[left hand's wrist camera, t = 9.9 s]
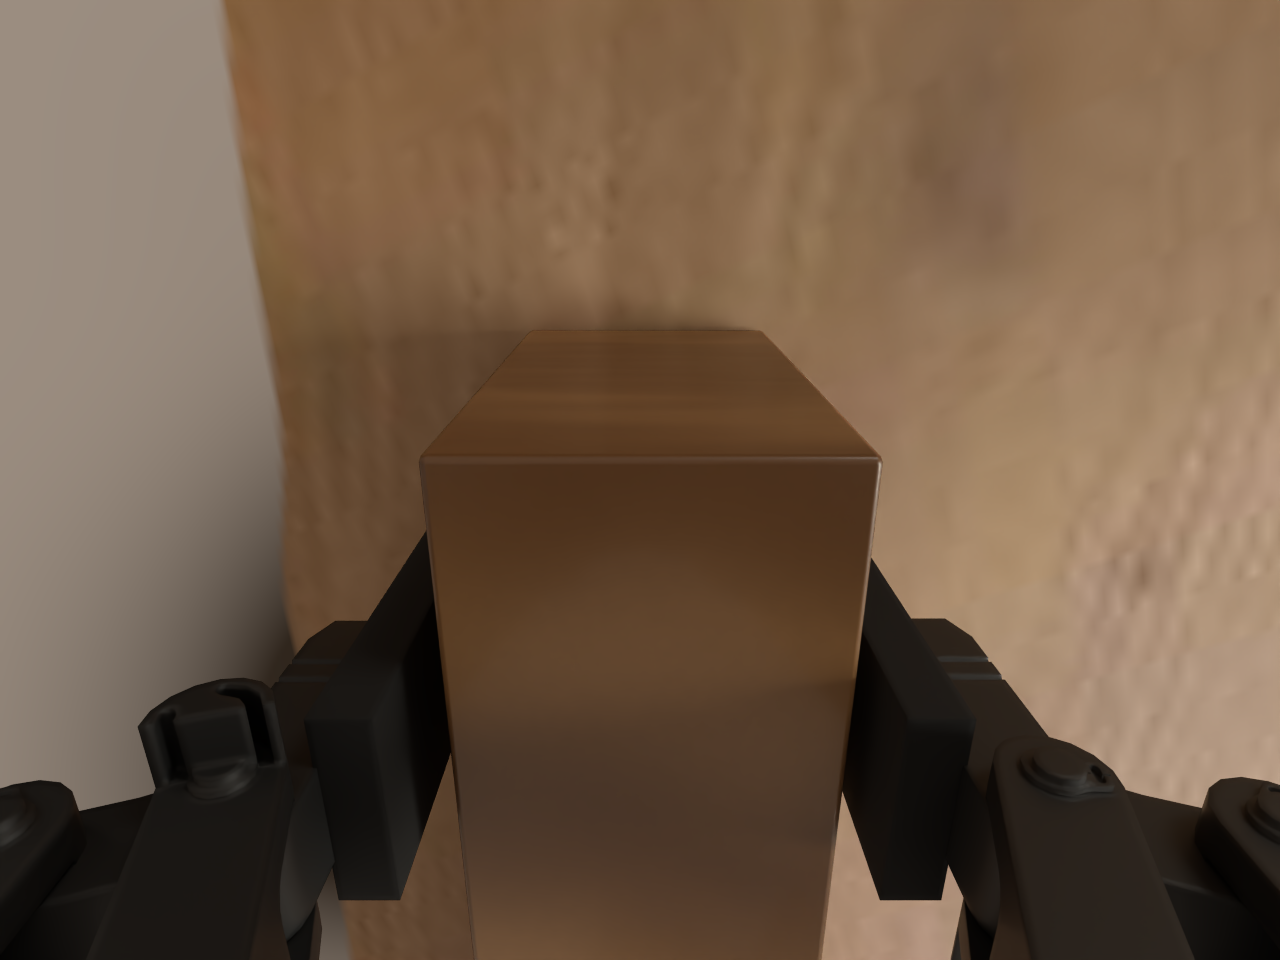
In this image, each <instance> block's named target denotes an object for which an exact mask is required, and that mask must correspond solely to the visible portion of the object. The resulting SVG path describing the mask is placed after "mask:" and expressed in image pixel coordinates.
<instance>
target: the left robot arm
mask: <svg viewBox="0 0 1280 960" xmlns="http://www.w3.org/2000/svg"><path fill="white" fill-rule="evenodd" d="M138 730H139V733H140V736H141V740H142V743H143V747H144V750H145V753H146V757H147V760H148V764H149V767H150V770H151V774H152V777H153V781H154V784H155V787H156V789H155V791H154V794H150V795H147V796H144V797H140V798H136V799H132V800H127V801H123V802H118V803H114V804H109V805H105V806H100V807H96V808H91V809H87V810H82V811H79V810H78V807H77V804H76V801H75V798H74V795H73V792H72V791H71V790H70V789H69V788H67V787H66V786H64V785H63V784H62V783H60V782H52V781H42V780H38V781H32V782H26V783H20V784H13V785H10V786H7V787H4V788H0V960H319V954H320V943H321V934H322V926H321V919H320V913H319V908H318V903H317V899H318V897H319V894H320V892H321V890H322V888H323V886H324V884H325V882H326V879H327V877H328V875H329V873H330V871H331V869H332V868H333V873H334V878H335V883H336V888H337V894H338V899H339V900H400V899H401V896H402V893H403V890H404V887H405V884H406V881H407V878H408V875H409V873H410V870H411V867H412V864H413V861H414V858H415V855H416V852H417V849H418V846H419V843H420V841H421V838H422V835H423V832H424V829H425V826H426V823H427V820H428V817H429V814H430V812H431V809H432V806H433V803H434V800H435V797H436V794H437V791H438V788H439V785H440V782H441V780H442V777H443V774H444V771H445V768H446V765H447V762H448V759H449V756H450V753H451V747H450V738H449V729H448V720H447V711H446V702H445V693H444V684H443V675H442V666H441V657H440V648H439V639H438V630H437V621H436V612H435V602H434V593H433V584H432V575H431V566H430V557H429V548H428V539H427V530H426V532H425V533H424V535H423V537H422V538H421V540H420V541H419V543H418V544H417V546H416V547H415V549H414V550H413V552H412V553H411V555H410V556H409V558H408V560H407V561H406V563H405V564H404V566H403V567H402V569H401V570H400V572H399V573H398V575H397V576H396V578H395V579H394V581H393V583H392V584H391V586H390V587H389V589H388V590H387V592H386V593H385V595H384V596H383V598H382V599H381V601H380V602H379V604H378V606H377V607H376V609H375V610H374V612H373V613H372V615H371V616H370V618H369V619H368V621H334V622H333V623H331V624H330V625H329V626H327V627H326V628H324V629H323V630H321V631H320V632H318V633H317V634H315V635H314V636H312V637H311V638H309V639H308V640H307V642H306V643H305V644H304V646H303V647H302V648H301V650H300V651H299V652H298V653H297V655H296V656H295V657H294V659H293V660H292V664H289V665H288V667H287V668H286V669H285V671H284V672H283V673H282V675H281V676H280V677H279V682H276V683H275V684H274V685H273V686H272V688H271V689H270V688H269V687H268V686H267V685H265V684H264V683H263V682H261V681H256V680H252V679H247V678H233V679H220V680H216V681H212V682H208V683H204V684H200V685H196V686H193V687H191V688H189V689H187V690H185V691H182V692H180V693H178V694H175V695H173V696H171V697H169V698H168V699H167V700H165V701H164V702H162V703H161V704H159V705H158V706H157V707H155V708H154V709H152V710H151V711H150V712H149V713H148V714H147V716H146V717H145V718H144V719H143V721H142V722H141V723H140V724H139V726H138ZM842 791H843V794H844V797H845V800H846V803H847V806H848V809H849V812H850V814H851V817H852V820H853V823H854V826H855V829H856V832H857V835H858V838H859V841H860V844H861V846H862V849H863V852H864V855H865V858H866V861H867V864H868V867H869V870H870V873H871V875H872V878H873V881H874V884H875V887H876V890H877V893H878V896H879V899H880V900H941V899H942V893H943V888H944V883H945V878H946V873H947V868H948V865H949V867H950V869H951V871H952V874H953V876H954V878H955V880H956V882H957V884H958V887H959V889H960V891H961V893H962V895H963V897H964V898H963V903H962V908H961V913H960V917H959V922H958V927H957V932H956V936H955V941H954V946H953V951H952V955H951V960H1280V785H1278V784H1274V783H1272V782H1269V781H1263V780H1257V779H1250V778H1244V777H1237V778H1228V779H1220V780H1219V781H1218V782H1216V783H1215V784H1214V785H1212V786H1211V787H1210V788H1209V789H1208V792H1207V795H1206V798H1205V801H1204V804H1203V807H1202V808H1199V807H1194V806H1190V805H1185V804H1181V803H1176V802H1172V801H1167V800H1163V799H1158V798H1154V797H1149V796H1145V795H1141V794H1137V793H1134V792H1130V791H1127V790H1125V788H1124V786H1123V785H1122V783H1121V782H1120V780H1119V779H1118V777H1117V776H1116V774H1115V773H1114V771H1113V770H1112V769H1110V768H1109V767H1108V766H1107V765H1105V764H1104V763H1103V762H1102V761H1100V760H1099V759H1098V758H1097V757H1095V756H1094V755H1092V754H1090V753H1088V752H1086V751H1084V750H1083V749H1081V748H1079V747H1077V746H1075V745H1073V744H1071V743H1067V742H1064V741H1061V740H1057V739H1054V738H1050V737H1048V735H1047V734H1046V733H1045V731H1044V730H1043V729H1042V728H1041V726H1040V725H1039V724H1038V722H1037V721H1036V720H1035V718H1034V717H1033V716H1032V715H1031V713H1030V712H1029V711H1028V709H1027V708H1026V707H1025V705H1024V704H1023V703H1022V701H1021V700H1020V699H1019V698H1018V696H1017V695H1016V694H1015V692H1014V691H1013V690H1012V688H1011V687H1010V686H1009V684H1008V683H1007V682H1006V681H1005V680H1002V678H1001V674H1000V673H999V671H998V670H997V669H996V667H995V666H994V665H993V664H992V662H988V657H987V656H986V654H985V653H984V652H983V650H982V649H981V648H980V647H979V645H978V644H977V643H976V641H975V640H974V639H973V637H972V636H970V635H969V634H967V633H966V632H964V631H963V630H961V629H960V628H958V627H957V626H955V625H954V624H952V623H951V622H949V621H948V620H946V619H911V618H910V616H909V615H908V613H907V612H906V610H905V609H904V607H903V606H902V604H901V602H900V601H899V599H898V598H897V596H896V595H895V593H894V592H893V590H892V589H891V587H890V586H889V584H888V583H887V581H886V579H885V578H884V576H883V575H882V573H881V572H880V570H879V569H878V567H877V566H876V564H875V563H874V561H873V560H872V558H871V561H870V570H869V578H868V586H867V594H866V602H865V610H864V618H863V626H862V634H861V643H860V651H859V659H858V667H857V675H856V683H855V691H854V699H853V707H852V715H851V724H850V732H849V740H848V748H847V756H846V764H845V772H844V780H843V788H842Z"/></svg>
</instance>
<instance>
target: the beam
mask: <svg viewBox="0 0 1280 960" xmlns="http://www.w3.org/2000/svg"><path fill="white" fill-rule="evenodd" d="M882 464H883V462H882V459H881V456H880V455H879V454H878V453H877V452H876V451H875V450H874V449H873V448H872V447H871V446H870V445H869V444H868V443H867V442H866V440H865V439H864V438H863V437H862V436H861V435H860V434H859V433H858V432H857V431H856V430H855V429H854V428H853V427H852V426H851V425H850V424H849V423H848V421H847V420H846V419H845V418H844V417H843V416H842V415H841V414H840V413H839V412H838V411H837V410H836V409H835V408H834V407H833V406H832V405H831V404H830V402H829V401H828V400H827V399H826V398H825V397H824V396H823V395H822V394H821V393H820V392H819V391H818V390H817V389H816V388H815V387H814V386H813V385H812V383H811V382H810V381H809V380H808V379H807V378H806V377H805V376H804V375H803V374H802V373H801V372H800V371H799V370H798V369H797V368H796V367H795V365H794V364H793V363H792V362H791V361H790V360H789V359H788V358H787V357H786V356H785V355H784V354H783V353H782V352H781V351H780V350H779V349H778V348H777V346H776V345H775V344H774V343H773V342H772V341H771V340H770V339H769V338H768V337H767V336H766V335H765V334H764V333H763V332H761V331H566V330H533V331H531V332H529V333H528V335H527V336H526V337H525V338H524V339H523V340H522V341H521V343H520V344H519V345H518V346H517V347H516V348H515V349H514V350H513V352H512V353H511V354H510V355H509V356H508V357H507V358H506V360H505V361H504V362H503V363H502V364H501V365H500V366H499V368H498V369H497V370H496V371H495V372H494V373H493V374H492V376H491V377H490V378H489V379H488V380H487V381H486V382H485V384H484V385H483V386H482V387H481V388H480V389H479V390H478V391H477V393H476V394H475V395H474V396H473V397H472V398H471V399H470V401H469V402H468V403H467V404H466V405H465V406H464V407H463V409H462V410H461V411H460V412H459V413H458V414H457V415H456V417H455V418H454V419H453V420H452V421H451V422H450V423H449V425H448V426H447V427H446V428H445V429H444V430H443V431H442V432H441V434H440V435H439V436H438V437H437V438H436V439H435V440H434V442H433V443H432V444H431V445H430V446H429V447H428V448H427V450H426V451H425V452H424V453H423V454H422V455H421V457H420V460H419V467H420V476H421V485H422V494H423V503H424V512H425V521H426V530H427V539H428V548H429V557H430V566H431V575H432V584H433V593H434V602H435V612H436V621H437V630H438V639H439V648H440V657H441V666H442V675H443V684H444V693H445V702H446V711H447V720H448V729H449V738H450V747H451V756H452V765H453V774H454V784H455V793H456V802H457V811H458V820H459V829H460V838H461V847H462V856H463V865H464V874H465V883H466V892H467V901H468V910H469V919H470V928H471V937H472V946H473V955H474V960H821V959H822V951H823V942H824V934H825V926H826V918H827V910H828V902H829V894H830V886H831V878H832V869H833V861H834V853H835V845H836V837H837V829H838V821H839V813H840V805H841V797H842V788H843V780H844V772H845V764H846V756H847V748H848V740H849V732H850V724H851V715H852V707H853V699H854V691H855V683H856V675H857V667H858V659H859V651H860V643H861V634H862V626H863V618H864V610H865V602H866V594H867V586H868V578H869V570H870V561H871V553H872V545H873V537H874V529H875V521H876V513H877V505H878V497H879V489H880V480H881V472H882Z"/></svg>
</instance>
